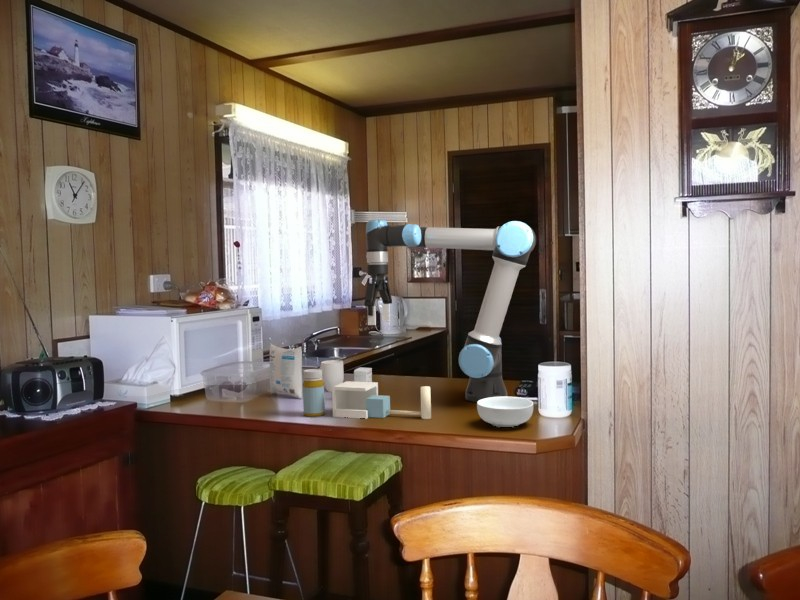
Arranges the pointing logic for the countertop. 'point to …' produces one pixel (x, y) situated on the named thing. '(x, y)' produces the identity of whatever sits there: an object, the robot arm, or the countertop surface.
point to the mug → (332, 373)
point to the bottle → (313, 393)
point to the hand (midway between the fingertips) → (379, 323)
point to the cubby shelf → (352, 398)
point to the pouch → (286, 370)
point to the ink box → (363, 375)
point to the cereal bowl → (505, 410)
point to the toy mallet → (381, 409)
